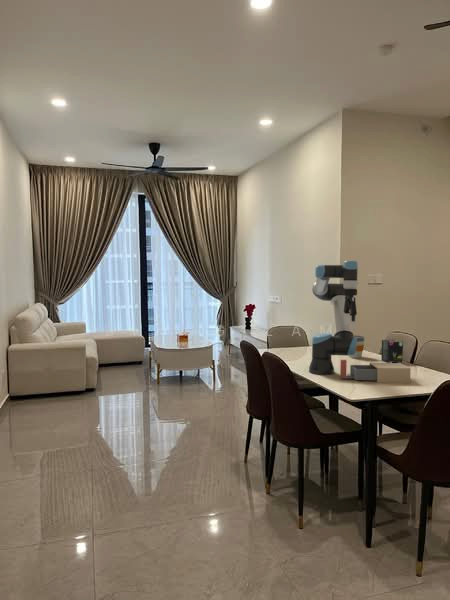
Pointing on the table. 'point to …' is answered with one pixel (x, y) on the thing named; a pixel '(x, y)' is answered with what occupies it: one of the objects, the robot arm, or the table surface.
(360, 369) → the tray
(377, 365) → the sleeve
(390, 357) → the tampon box
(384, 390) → the table surface
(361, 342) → the reusable coffee cup
